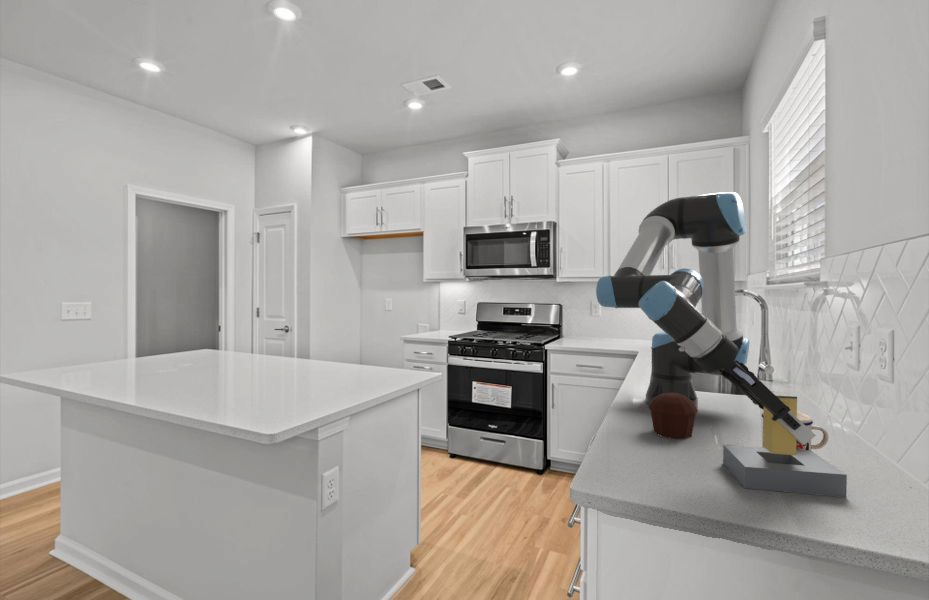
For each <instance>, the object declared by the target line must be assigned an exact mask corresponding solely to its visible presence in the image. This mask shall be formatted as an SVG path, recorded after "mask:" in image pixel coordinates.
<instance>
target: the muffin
mask: <svg viewBox="0 0 929 600" xmlns="http://www.w3.org/2000/svg"><path fill="white" fill-rule="evenodd" d="M647 404H648V403H647ZM647 407H648V409H649V410H650V416H651V423H652V429H654V430H653V432H654V434H655V433H656V434H655V435H658V434H659V435H658V436H660V435H661V436H660V437H662V438H667V439H668V438H669V439H674V440H679V439H681V440H686V439H688V438H692V436H693V430H694V425H695V421H696V415H697V413H698V412H699V410H698V407H697V408H696V406H695V405H694V403H693V402H692V400H690V399H689V398H688V397H686V396H684V395H682V394H678V393H663V394H660V395H658V396H656V397H655V398H653V399H652V401H651V402H650V403H649V404H648V405H647Z"/></svg>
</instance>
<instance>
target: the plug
mask: <svg viewBox="0 0 929 600" xmlns="http://www.w3.org/2000/svg"><path fill="white" fill-rule="evenodd" d="M770 391H771V392H772V393H773V394H774V395H776V396H777V397H778V398H779V399H780V400H781V401H782V402H783V403H784V404H785V405H786V406H788V407H789V408H790V412H791V413H793V414H794V415H795V416H796V417H797V410H798V396H797V395H795V394H792V393H790V392H788V391H774V390H773V391H772V390H770ZM763 412H764V419H763V418H762V440H763V447H765V448H766V449H767V450H768V451H770V452H771V453H772V454H785V455H796V438H795V437H794V436H793V435H792V434H791V433H790V432H789V431H788V430H787V429H786V428H785V427H784V426H783V425H782V424H781V423H779V422H778V421H777V420H776V421H773V420H772V419H771V418H772V417H774V415H773V414H772V413H771V412H769V411H768V410H767V409H766V408H765V407H764V409H763Z"/></svg>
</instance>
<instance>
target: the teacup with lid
mask: <svg viewBox="0 0 929 600" xmlns="http://www.w3.org/2000/svg"><path fill="white" fill-rule="evenodd" d="M761 418H762V420H763V419H764V411H762V413H761ZM797 418H798V419H799V420H800V421H801V422H802V423H803V424H804V425H805V426H806V427H807V428H809V429H810V430H811V431H812V430H814V431H815V430H817V431H821V432H822V440H821V441H820V442H819V443H817V444H812V439H811V440H810V441H809V442H807V443H806V444H805V445H803V444H802V443H801V442H800V441H799V440H797V439H796V450H810V451H812V450H820V449H822V448H824V447H825V446H826V445H827V444H828V443H829V433H828V431H827V430H826V429H825V428H823V427H821V426H818V425H814V424H813V423H814V421H813V419H812V417H811V416H809V415H808V414H805V413H803V412H801V411H799V410H798V409H797ZM761 441H762V443H761V445H762V446H761V447H763V439H762V440H761Z"/></svg>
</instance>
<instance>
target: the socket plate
mask: <svg viewBox="0 0 929 600" xmlns="http://www.w3.org/2000/svg"><path fill="white" fill-rule="evenodd" d="M722 446H723V449H722V451H723V452H722V455H723V456H722V464H723V465H724V466H725V467H726V469H728V471H729V472H730V473H731V474H732V476H734V478H736V480H737V481H738V482H739V484H740V485H741V486H742V487H743V488H744V489H748V490H749V489H750V490H762V491H771V492H773V491H774V492H783V493H795V494H805V495H806V494H807V495H817V496H826V497H827V496H830V497H839V498H840V497H841V498H847V492H848V491H847V484H848V483H847V479H848V477H847V476H848V474H847V473H845V472H843V471H842V470H841V469H840V468H838V467H836V466H835V465H833V464H831V462H829V461H827V460H826V459H824V458H823V457H821V456H820V455H818V454H817V453H815V452H814V451H812V450H811V451H810V450H796V455H785V454H772V453H771V452H770V451H768V450H767V449H766V448H765V447H762V446H749V445H733V444H723V445H722Z"/></svg>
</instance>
